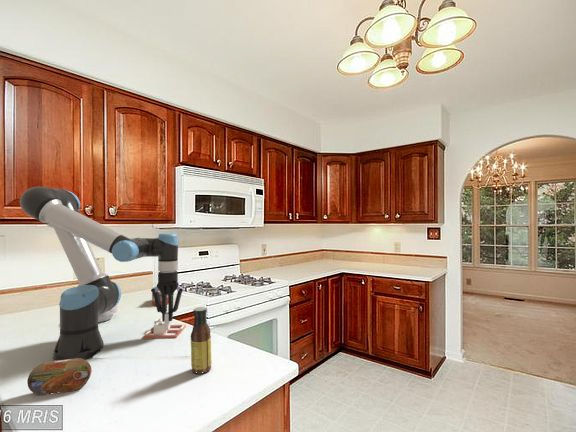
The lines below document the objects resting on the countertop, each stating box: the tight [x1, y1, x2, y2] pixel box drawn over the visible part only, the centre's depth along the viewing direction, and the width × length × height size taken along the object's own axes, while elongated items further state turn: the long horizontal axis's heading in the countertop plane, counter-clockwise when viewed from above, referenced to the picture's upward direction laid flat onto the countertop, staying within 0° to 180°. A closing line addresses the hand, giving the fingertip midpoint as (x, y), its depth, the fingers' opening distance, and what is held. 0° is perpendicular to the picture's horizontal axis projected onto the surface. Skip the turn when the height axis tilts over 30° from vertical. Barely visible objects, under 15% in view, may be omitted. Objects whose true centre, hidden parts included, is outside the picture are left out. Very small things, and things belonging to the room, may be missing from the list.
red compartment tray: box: [142, 324, 187, 340], centre depth 131 cm, size 13×13×2 cm
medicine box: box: [151, 289, 168, 307], centre depth 184 cm, size 15×8×8 cm, turn 5°
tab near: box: [153, 321, 168, 335], centre depth 128 cm, size 4×4×5 cm
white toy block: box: [153, 316, 164, 326], centre depth 134 cm, size 4×4×5 cm
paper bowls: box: [98, 303, 119, 323], centre depth 152 cm, size 15×15×8 cm
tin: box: [26, 358, 93, 396], centre depth 89 cm, size 15×3×8 cm, turn 105°
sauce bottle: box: [190, 306, 212, 373], centre depth 101 cm, size 6×6×20 cm
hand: (167, 328), depth 128 cm, fingers closed
